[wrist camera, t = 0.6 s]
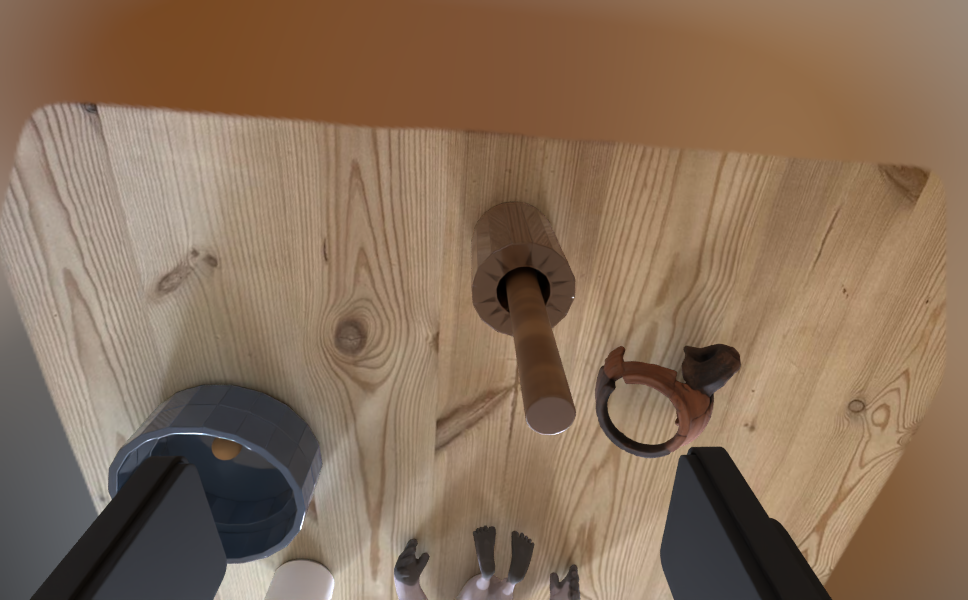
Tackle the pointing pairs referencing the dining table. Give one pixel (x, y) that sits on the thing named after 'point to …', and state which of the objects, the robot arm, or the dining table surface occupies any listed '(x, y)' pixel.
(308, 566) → the can
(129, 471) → the bowl
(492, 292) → the holder
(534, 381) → the stick
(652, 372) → the broken pottery
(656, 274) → the dining table surface
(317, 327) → the dining table surface
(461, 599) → the yeti figurine
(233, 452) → the cork ball
